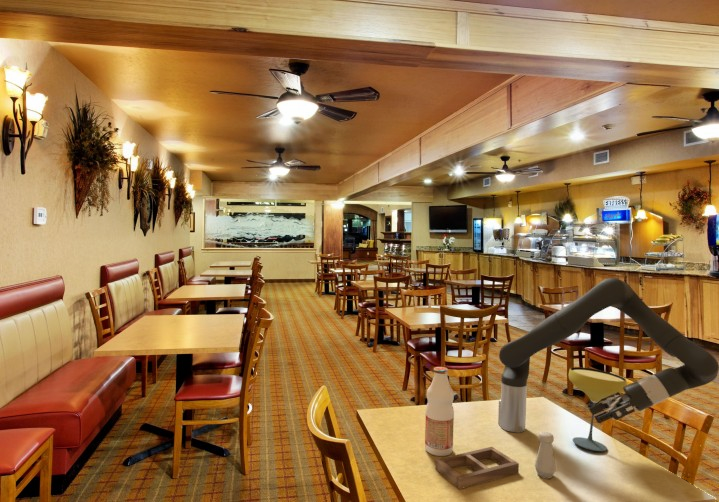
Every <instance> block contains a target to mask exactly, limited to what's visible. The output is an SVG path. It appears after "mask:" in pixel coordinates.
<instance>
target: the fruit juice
mask: <svg viewBox="0 0 719 502" xmlns="http://www.w3.org/2000/svg"><path fill="white" fill-rule="evenodd" d="M448 375H449V368H447V367H443V366H435V367H433V378H432V380H431V384H430V385H429V386H428V388H427V390H426V398H427V403H426V407H425V427H424V428H425V430H424V449H425V451H426V452H427V453H429V454H430V455H433V456H436V457H448V456H449V455H452V453H453V449H454V421H455V420H454V419H455V418H454V417H455V414H454V413H455V410H454V406H453V401H454V397H455V393H454V390H453V389H452V387H451V385H450V384H451V383H450V380H449V377H448Z"/></svg>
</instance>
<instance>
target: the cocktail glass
mask: <svg viewBox="0 0 719 502" xmlns="http://www.w3.org/2000/svg"><path fill="white" fill-rule="evenodd" d="M568 379H569V381H570V382H571V383H572V385H573V386H575V387H576V388H577V389H578V390H580V391H582V392H583V393H584V394H585V395H587V397H588V398H589V400H590V401H591V402H592V406H594V405H596V404H598V403H600V402H601V399H603V398H605V397H608V396H610V395H612V394H615V393H617V392H619V393H620V394H621V395H622V394H624V393H625V392H624V390H623V387H624V386H626V385H628V384H627V383H628V381H627V379H626V378H625V377H623V376H621V375H619V374H617V373H612V372H608V371H605V370H601V369H595V368H589V367H581V366H573V367H570V368H569V371H568ZM594 416H595V415H593V414H592V413H591V419H590V426H589V427H590V428H589V433H588V437H580V436H579V437H577V436H576V437H573V438H572V442H573V443H574V444H575V445H577V446H578V447H581V448H583V449H587V450H590V451H594V452H606V451H607V450H608V447H607V446H606V445H605V444H603V443H601V442H599V441H596V440H594V439H593V428H594V427H593V426H594V419H595V418H594Z"/></svg>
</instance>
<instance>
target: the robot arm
mask: <svg viewBox="0 0 719 502" xmlns="http://www.w3.org/2000/svg"><path fill="white" fill-rule="evenodd" d="M611 307H612V308H614V309H617V310H618V311H620V312H622V313H623V314H625V315H626V316H628V317H629V318H630V319H632V320H633V321H634V323H635V324H637V325H638V326H639V328H640V329H641V330H642V331H643V332H644V333H645V334H646V335H647V337H649V338H650V339H651V340H652V342H654V344H656V345H657V346H658V347H660V349H661V350H662V351H664V352H665V353H666V354H667V355H669V356H670V357H672V358H676V359H677V360H679V361H680V362H681V363H682V364H684V365H681V366H678V367H675V368H673V367H668V368H666V369H662V370H660V371H658V372H655V373H654V374H651V375H648V376H647V375H646V376H645V377H642V378H641V379H638V380H636V381H632V382H631V383H629V384H627V385H626V386H624V387H623V390H624V392H623V393H621V394H620V393H619V392H617V393H615V394H612V395H610V396H608V397H605V398H603V399H601V400H600V401H599V402H598V403H596V404H595V405H594V406H593V405H592V406H591V407H589V409H588V410H589V412H590V413H591V415H592V414H593V415H594V418H593V419H595V420H596V423H598V424H602V423H604V422H605V421H609V420H610V419H611V420H614V421H618V420H619V419H622V418H624V417H625V416H628V415H631V414H633V413H634V412H635V411H638V412H642V411H644V410H646V409H648V408H650V407H653V406H656V405H657V404H661V403H662V402H664V401H666V400H667V399H669V398H672V397H674V396H676V395H679V394H680V393H683V392H685V391H688V390H691V389H694V388H698V387H702V386H704V385H707V384H709V383H711V382H713V381H714V380H716V379H717V377H718V374H719V362H718V360H717V359H716V358H715V357H714V356H713V354H711V353H710V352H709V351H707V350H706V349H705V348H703V347H701V345H698V344H697V343H696V342H694V341H691V340H690V339H688V338H687V337H686V336H685V335H684V334H683V333H682V332H680V331H679V330H678V329H677V328H675V327H674V326H673V325H671V323H669V322H668V321H667V320H665V319H664V318H663V317H661V316H660V315H659V314H657V312H655V311H654V310H653V309H652V308H650V307H649V306H648V305H647V304H646V303H645V302H644V301H643V299H642V298H641V297H640V296H639V295H638V294H637V292H635V291H634V289H633V288H632V286H630V284H628V282H625V281H624V280H622V279H620V278H618V277H617V278H616V277H609V278H605V279H602V281H599V282H598V283H597V284H596V285H594V287H592V288H591V289H589V290H588V291H587V292H586V293H584V294H583V295H582V296H581V297H579V298H577V299H576V300H574V301H572V302H570V303H569V304H568V305H565V306H564V307H562V308H560V309H559V310H557V311H555V312H553V314H551V315H549V316H548V317H546V318H545V319H544V320H542V321H540V323H538V324H537V325H535V326H534V327H533V328H532V329H531V330H529V331H528V332H527V333H526V334H524V335H522V336H521V337H518V338H516V339H514V340H511V341H510V342H507V343H504V344H503V346H501V348H500V350H499V353H498V357H499V361H500V362H501V364H503V365H504V370H503V371H502V374H501V380H500V381H501V382H500V383H501V384H500V399H499V400H498V413H497V414H498V415H497V416H498V419H497V424H498V425H499V426H500V428H501V429H503V430H505V431H507V432H510V433H523V432H525V431H526V419H527V418H526V416H527V395H528V394H527V392H528V391H527V389H528V378H529V375H530V363H531V361H530V360H531V357H532V356H534V355H535V354H537V353H539V352H540V351H543V350H545V349H547V348H550V347H552V346H555V345H556V344H559V343H561V342H562V341H565V340H566V339H567V338H569V337H571V336H573V335H574V334H576V333H577V332H579V330H581V329H582V328H583V326H584V325H586V323H587V322H588V321H589V320H590V319H591V318H592V317H593V316H594V315H596V314H597V313H599V312H602V311H603V310H605V309H607V308H611Z"/></svg>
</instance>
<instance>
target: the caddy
mask: <svg viewBox="0 0 719 502" xmlns="http://www.w3.org/2000/svg"><path fill="white" fill-rule="evenodd" d="M490 459H492V460H493V461H494V462H496V463H498V464H499V465H495V466H492V467H488V466H487V465H486V464H483V462H482V461H486V460H490ZM519 465H520V463H519V462H517V461H516V460H514V459H512V458H510V457H509V456H507V455H506V454H504V453H503V452H501V451H499V450H498V449H496V448H495V447H494V446H489V447H484V448H480V449H475V450H471V451H467V452H462V453H458V454H454V455H451V456H449V455H448V456H444V457H441V458H437V459H435V470H436V471H437V472H438V471H439V474H441V475H442V476H443V477H444V476H445V477H444V478H445V479H447V480H448V481H449V480H450V481H451V482H450V481H449V482H450V483H451V484H453V483H454V484H455V485H456V486H457V487H456V486H455V485H454V484H453V485H454V486H455V487H456V488H458V487H459V488H462V489H464V488H463V487H466V488H468V487H467V486H469V487H472V486H471V485H473V486H477V485H480V484H485V483H487V482H491V481H495V480H499V479H502V478H505V477H511V476H513V475H517V474H519V470H520V469H519V467H520V466H519ZM463 466H466V467H468V468H470V469H471V470H473V472H468V473H464V474H460V473H459V472H457V471H456V470H455V469H454V468H457V467H463ZM479 483H480V484H479ZM476 484H477V485H476ZM459 488H458V489H459Z"/></svg>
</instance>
